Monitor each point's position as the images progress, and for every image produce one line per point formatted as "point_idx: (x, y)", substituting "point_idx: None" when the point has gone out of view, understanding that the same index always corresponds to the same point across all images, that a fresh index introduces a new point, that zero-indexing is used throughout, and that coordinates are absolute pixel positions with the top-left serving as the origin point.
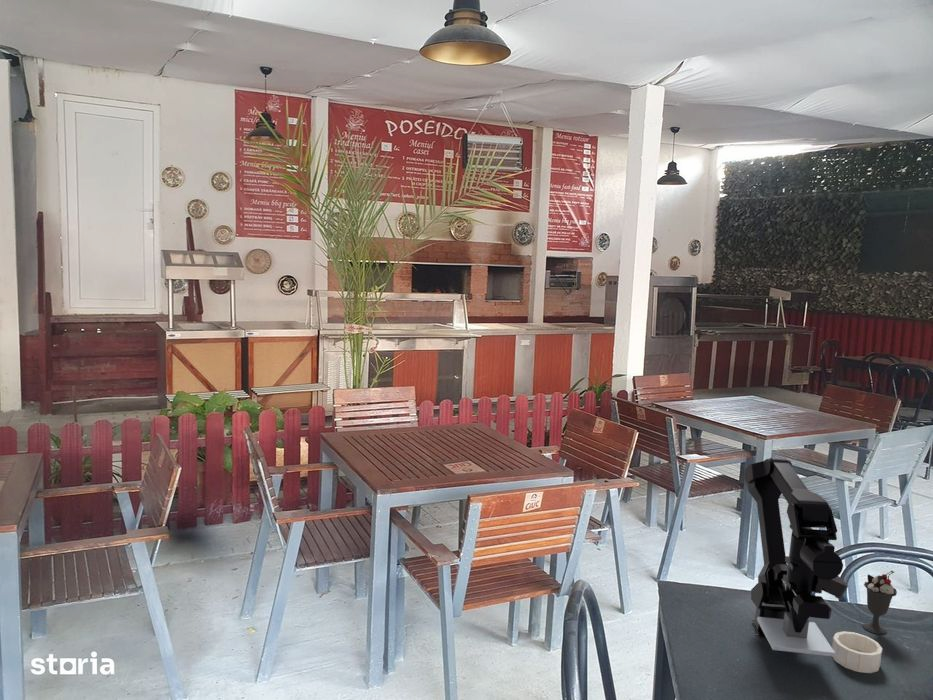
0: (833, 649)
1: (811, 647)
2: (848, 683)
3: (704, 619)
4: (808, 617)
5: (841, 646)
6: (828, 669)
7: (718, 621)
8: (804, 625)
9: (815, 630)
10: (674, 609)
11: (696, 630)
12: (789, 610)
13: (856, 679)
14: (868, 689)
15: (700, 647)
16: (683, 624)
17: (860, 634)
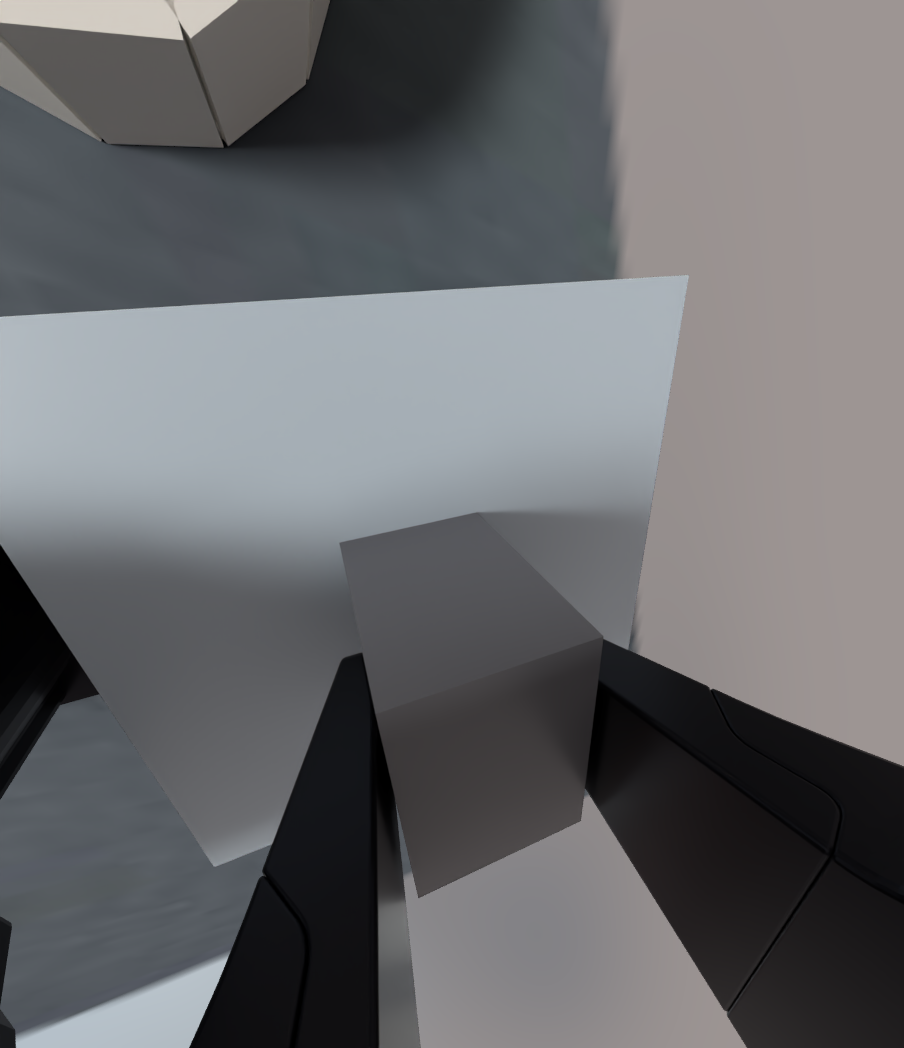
0: (123, 107)
1: (614, 489)
2: (530, 170)
3: (96, 897)
4: (810, 736)
5: (240, 2)
6: (390, 271)
7: (66, 856)
8: (616, 645)
9: (226, 382)
10: (74, 994)
11: (254, 873)
12: (402, 898)
13: (467, 55)
14: (579, 10)
15: (398, 818)
16: (224, 916)
17: None
